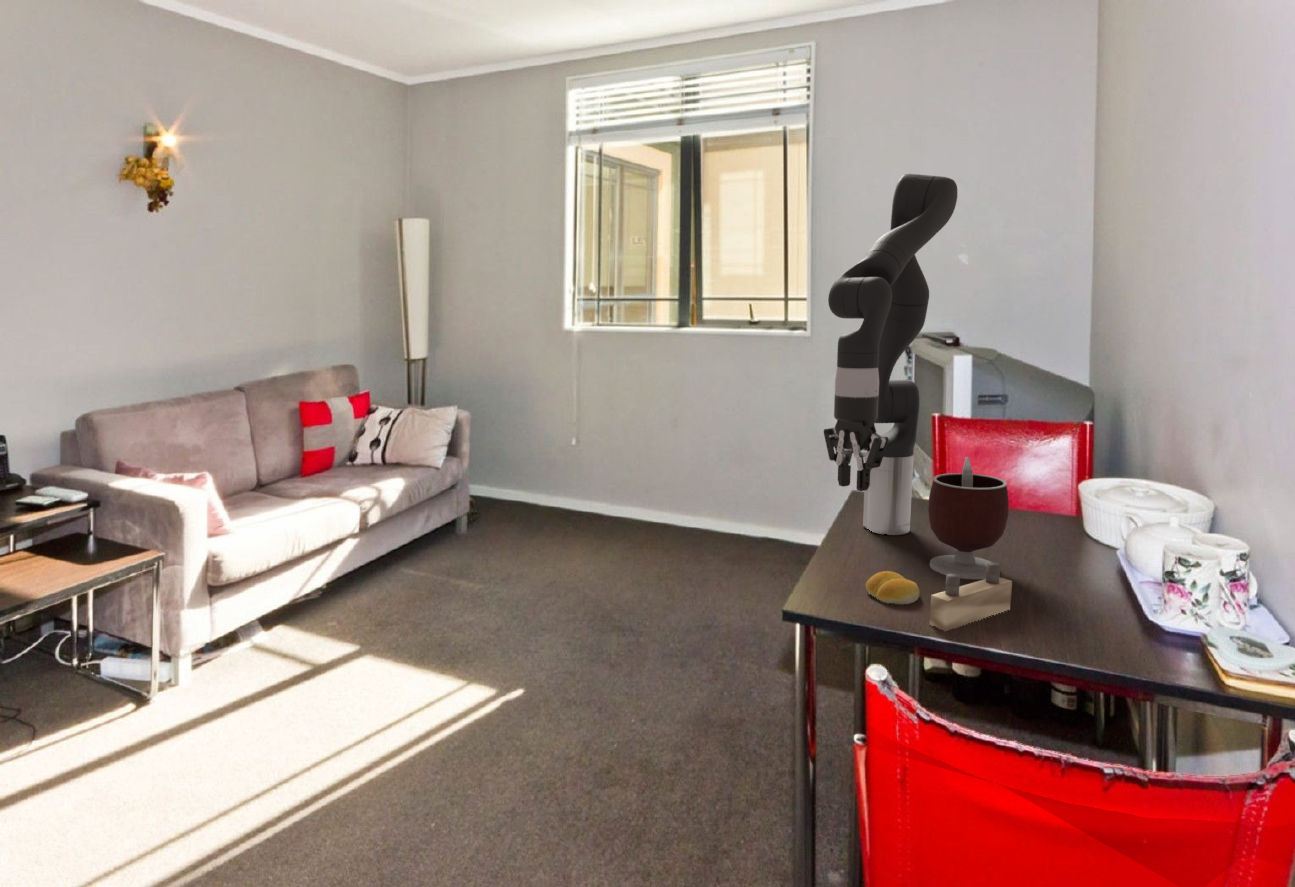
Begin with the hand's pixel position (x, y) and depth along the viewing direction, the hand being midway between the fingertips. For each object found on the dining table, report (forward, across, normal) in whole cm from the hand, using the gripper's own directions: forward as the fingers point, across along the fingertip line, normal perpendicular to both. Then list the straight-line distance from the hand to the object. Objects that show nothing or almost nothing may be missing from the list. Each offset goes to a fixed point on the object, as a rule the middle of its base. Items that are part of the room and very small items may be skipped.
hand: (853, 487), depth 142 cm
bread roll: (+18, -10, 0) cm, 20 cm away
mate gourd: (+17, -7, -23) cm, 30 cm away
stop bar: (+17, -24, -3) cm, 29 cm away
